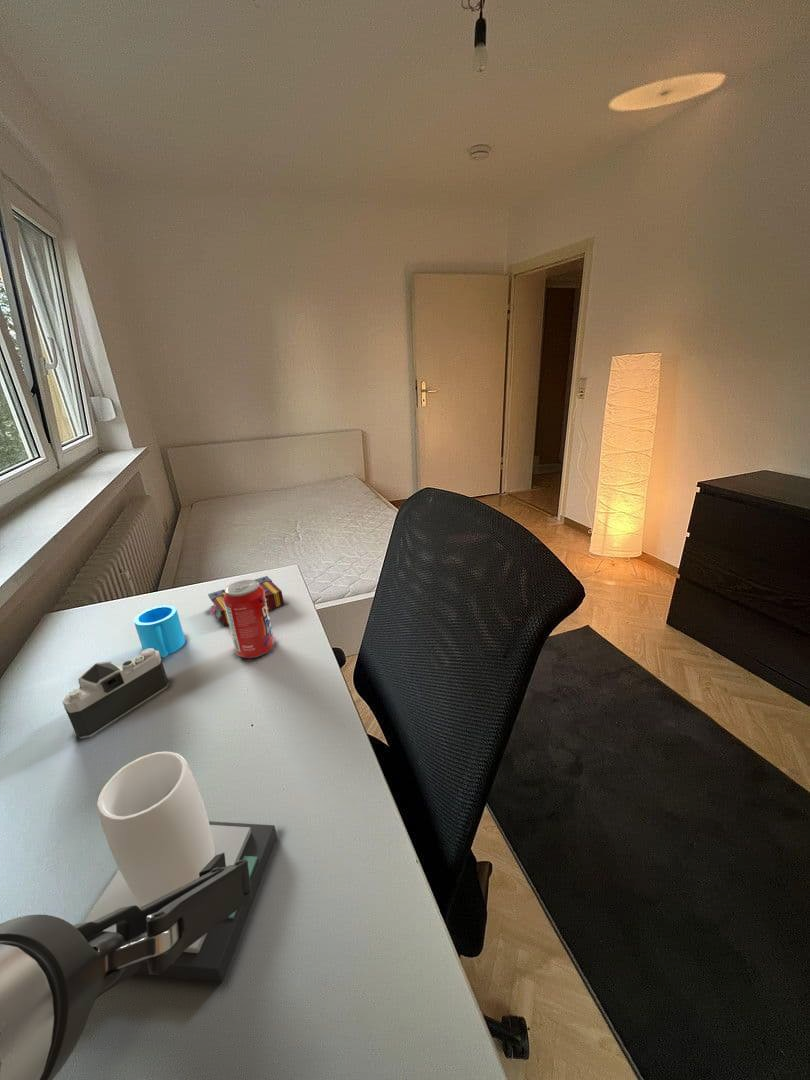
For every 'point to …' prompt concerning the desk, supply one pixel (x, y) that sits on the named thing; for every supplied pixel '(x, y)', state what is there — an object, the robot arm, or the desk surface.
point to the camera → (114, 691)
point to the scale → (220, 942)
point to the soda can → (248, 618)
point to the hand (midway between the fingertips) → (136, 902)
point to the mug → (160, 629)
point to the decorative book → (271, 595)
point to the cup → (156, 825)
